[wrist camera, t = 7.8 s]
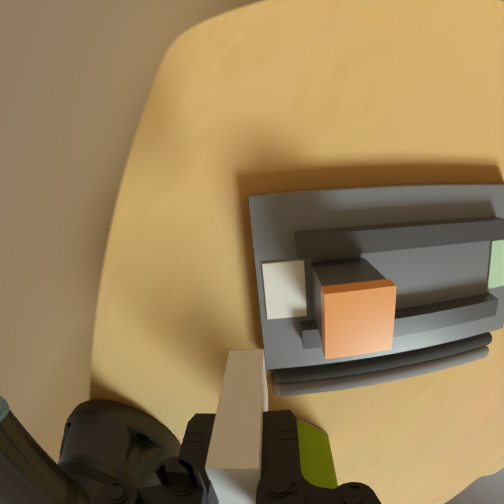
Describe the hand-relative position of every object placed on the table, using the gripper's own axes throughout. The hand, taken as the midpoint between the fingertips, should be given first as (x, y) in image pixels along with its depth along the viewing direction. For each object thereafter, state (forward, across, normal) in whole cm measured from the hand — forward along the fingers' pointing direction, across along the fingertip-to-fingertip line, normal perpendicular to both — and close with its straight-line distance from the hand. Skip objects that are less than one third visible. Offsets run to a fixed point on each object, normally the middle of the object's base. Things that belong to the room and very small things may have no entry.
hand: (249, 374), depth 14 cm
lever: (+10, +6, 0) cm, 12 cm away
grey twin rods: (+13, +12, -10) cm, 20 cm away
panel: (+13, +12, 0) cm, 17 cm away
